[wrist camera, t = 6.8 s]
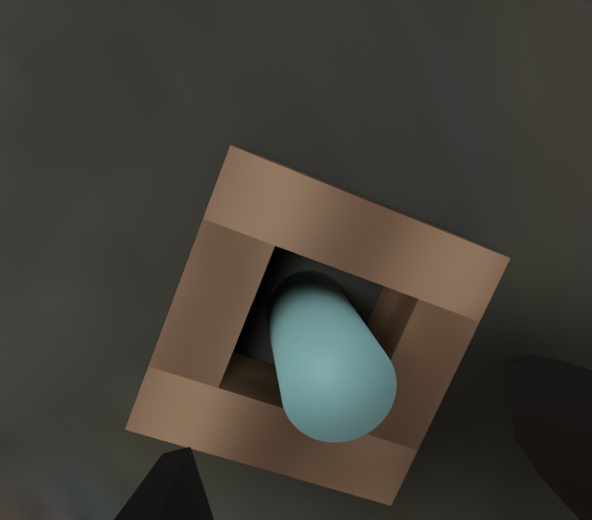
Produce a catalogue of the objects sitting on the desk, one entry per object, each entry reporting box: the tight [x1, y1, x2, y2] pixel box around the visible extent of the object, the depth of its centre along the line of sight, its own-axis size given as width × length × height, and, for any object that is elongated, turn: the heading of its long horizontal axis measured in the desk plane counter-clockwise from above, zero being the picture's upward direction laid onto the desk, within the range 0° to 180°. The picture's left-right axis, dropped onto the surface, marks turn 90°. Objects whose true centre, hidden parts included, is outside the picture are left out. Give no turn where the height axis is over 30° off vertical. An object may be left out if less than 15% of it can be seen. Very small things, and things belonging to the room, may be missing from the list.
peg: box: [266, 270, 397, 443], centre depth 18 cm, size 3×3×7 cm
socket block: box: [125, 144, 510, 506], centre depth 20 cm, size 10×10×4 cm
